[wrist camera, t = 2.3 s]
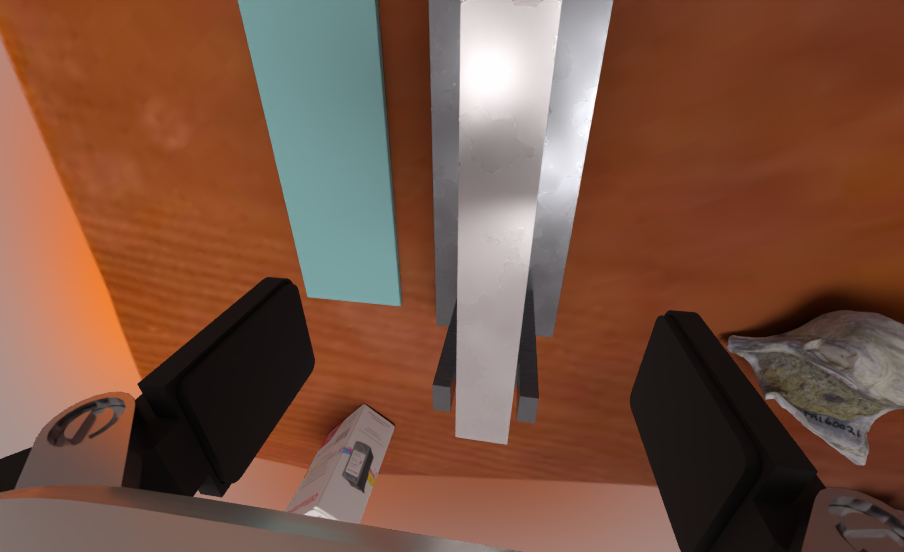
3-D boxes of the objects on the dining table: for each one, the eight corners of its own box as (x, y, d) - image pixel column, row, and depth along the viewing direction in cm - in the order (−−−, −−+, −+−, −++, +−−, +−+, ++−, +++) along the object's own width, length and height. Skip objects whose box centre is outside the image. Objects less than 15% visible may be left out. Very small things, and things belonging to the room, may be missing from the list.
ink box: (357, 451, 47) (312, 558, 37) (325, 430, 46) (269, 534, 35) (398, 424, 43) (360, 536, 33) (364, 400, 41) (313, 508, 31)
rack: (432, -111, 19) (323, -322, 9) (629, -124, 18) (785, -394, 7) (439, 315, 34) (401, 432, 23) (551, 326, 32) (565, 456, 21)
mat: (203, -174, 20) (195, -180, 19) (362, -190, 18) (358, -197, 18) (310, 293, 35) (307, 296, 34) (402, 302, 34) (400, 306, 33)
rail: (477, -207, 11) (463, -290, 8) (580, -218, 11) (600, -308, 8) (462, 397, 24) (455, 436, 21) (508, 403, 24) (506, 444, 21)
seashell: (746, 280, 27) (848, 379, 19) (1018, 301, 25) (1278, 425, 16) (700, 377, 32) (764, 490, 24) (923, 402, 30) (1083, 537, 21)
